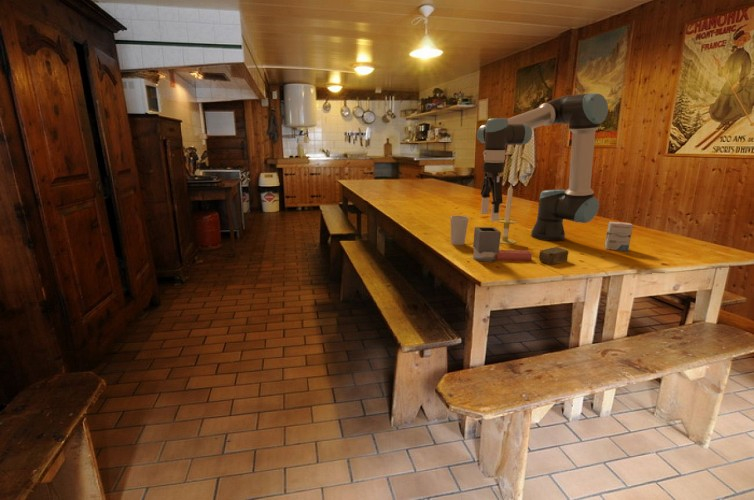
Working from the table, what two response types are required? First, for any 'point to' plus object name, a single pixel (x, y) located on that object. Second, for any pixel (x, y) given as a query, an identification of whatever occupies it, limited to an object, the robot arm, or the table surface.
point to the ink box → (618, 236)
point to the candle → (507, 220)
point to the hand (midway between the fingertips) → (489, 217)
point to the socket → (486, 239)
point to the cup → (458, 229)
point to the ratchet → (503, 255)
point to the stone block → (553, 255)
